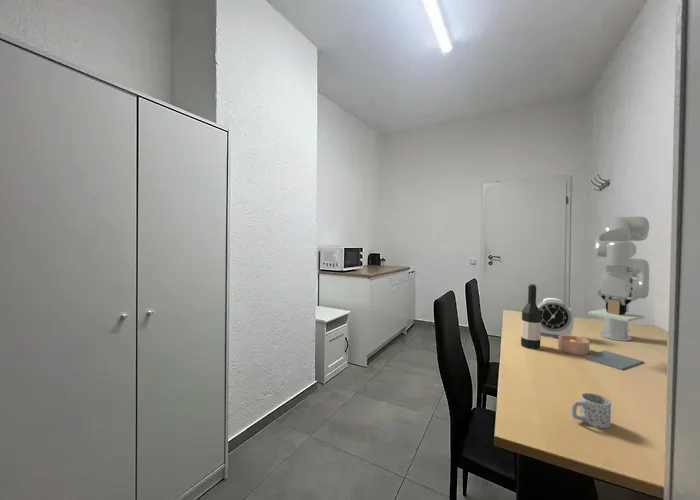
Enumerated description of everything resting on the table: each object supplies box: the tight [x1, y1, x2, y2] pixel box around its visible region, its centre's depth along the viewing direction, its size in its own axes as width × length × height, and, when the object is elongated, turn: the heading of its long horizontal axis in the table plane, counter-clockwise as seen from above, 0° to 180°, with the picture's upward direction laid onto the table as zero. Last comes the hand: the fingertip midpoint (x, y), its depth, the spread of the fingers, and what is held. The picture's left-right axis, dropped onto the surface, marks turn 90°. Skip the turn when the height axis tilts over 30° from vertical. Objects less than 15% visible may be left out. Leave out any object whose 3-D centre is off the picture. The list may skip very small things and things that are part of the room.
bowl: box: [557, 334, 590, 356], centre depth 144 cm, size 12×12×6 cm
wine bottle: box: [520, 283, 542, 350], centre depth 149 cm, size 8×8×30 cm
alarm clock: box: [536, 297, 575, 339], centre depth 166 cm, size 18×8×20 cm, turn 62°
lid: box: [587, 299, 645, 323], centre depth 133 cm, size 14×14×7 cm
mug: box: [571, 392, 612, 430], centre depth 87 cm, size 10×7×7 cm, turn 92°
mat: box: [582, 350, 645, 371], centre depth 133 cm, size 18×14×1 cm
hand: (615, 312), depth 133 cm, fingers closed on lid, 4 cm apart
